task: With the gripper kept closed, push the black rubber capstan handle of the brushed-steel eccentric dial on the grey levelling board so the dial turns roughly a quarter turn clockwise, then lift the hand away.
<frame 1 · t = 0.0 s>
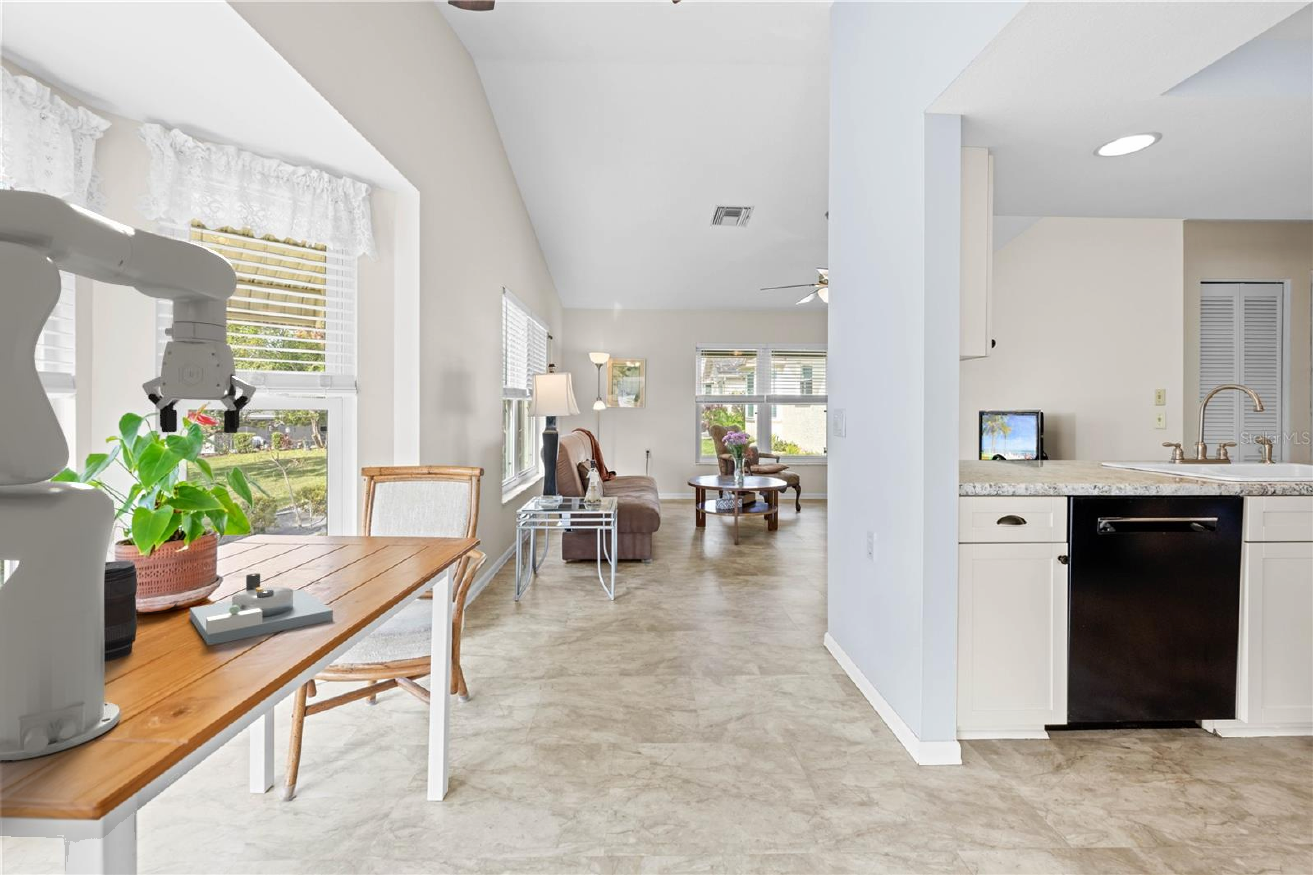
hand: (200, 432, 105), 37 cm above the table, tool pointing down, fingers open, 9 cm apart
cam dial: (260, 593, 118), point 5 cm above the table, hinge at 0.0°
level board: (261, 619, 118), on the table
camera lens: (104, 656, 98), on the table
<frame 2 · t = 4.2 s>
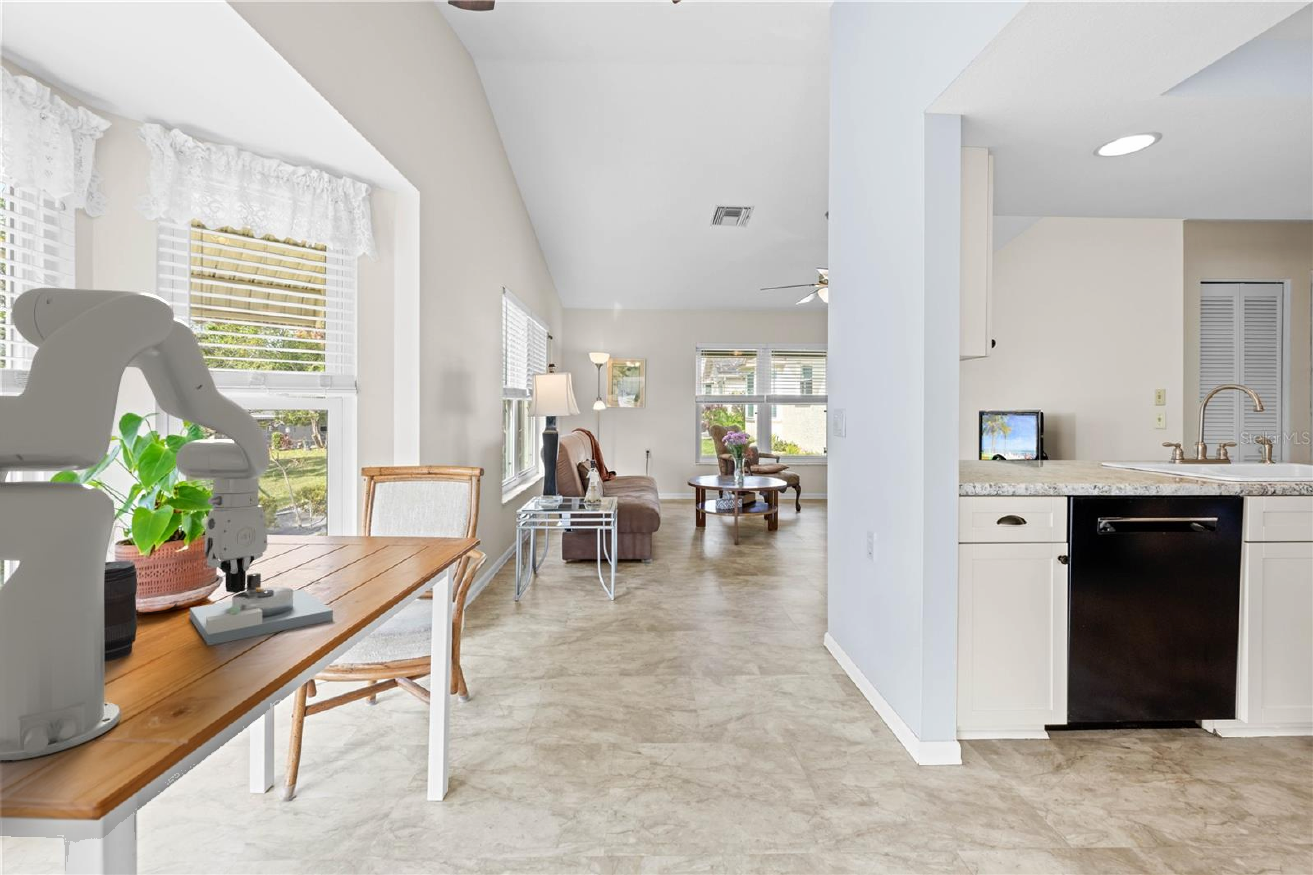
hand: (235, 591, 120), 5 cm above the table, tool pointing down, fingers closed
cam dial: (260, 593, 118), point 5 cm above the table, hinge at -0.5°, touching gripper
everything else where it was.
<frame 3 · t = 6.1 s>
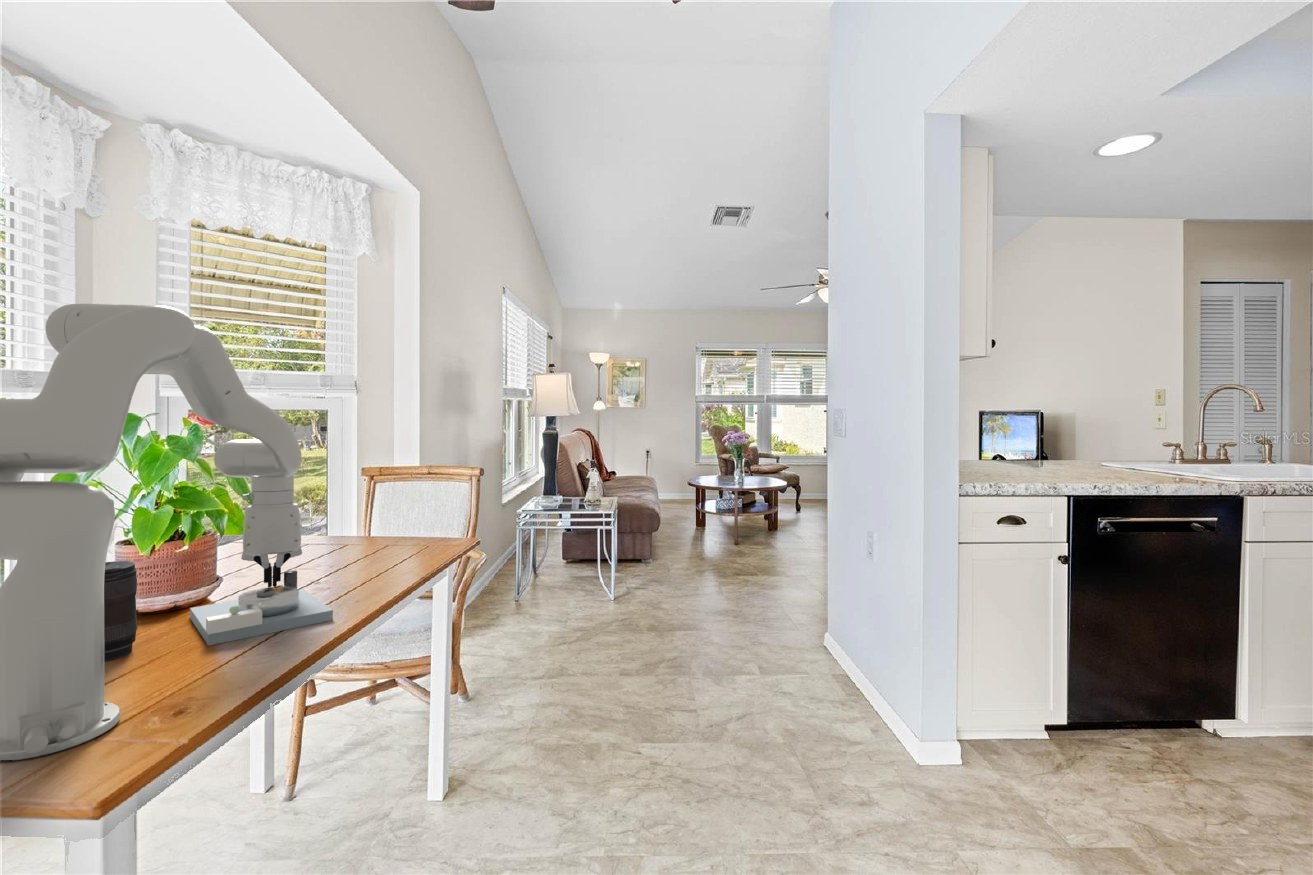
hand: (272, 585, 124), 5 cm above the table, tool pointing down, fingers closed
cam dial: (275, 592, 119), point 5 cm above the table, hinge at -38.6°, touching gripper
everything else where it was.
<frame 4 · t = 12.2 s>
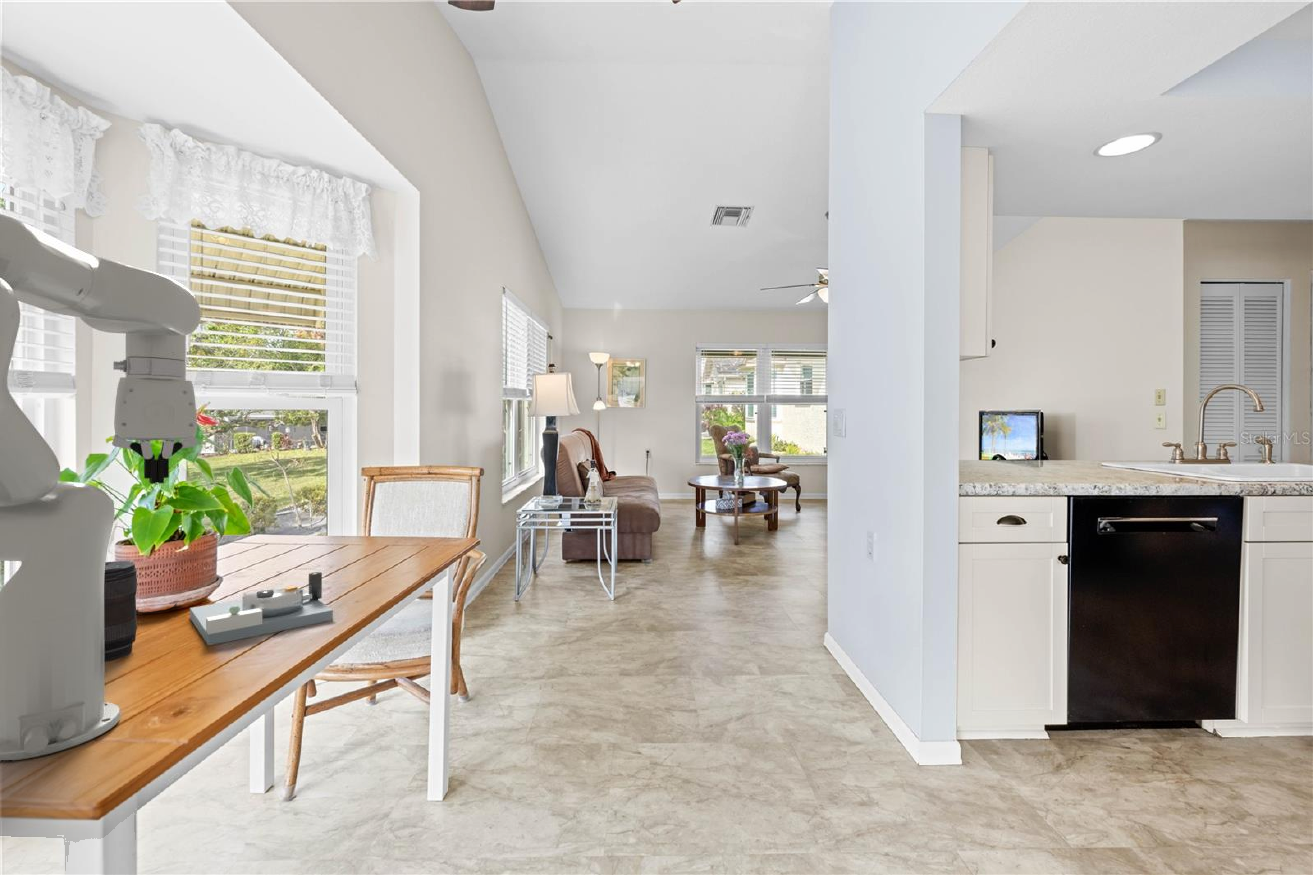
hand: (156, 482, 97), 29 cm above the table, tool pointing down, fingers closed
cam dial: (285, 593, 119), point 5 cm above the table, hinge at -73.3°
everything else where it was.
at the end: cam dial at -73° (first picture: +0°) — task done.
